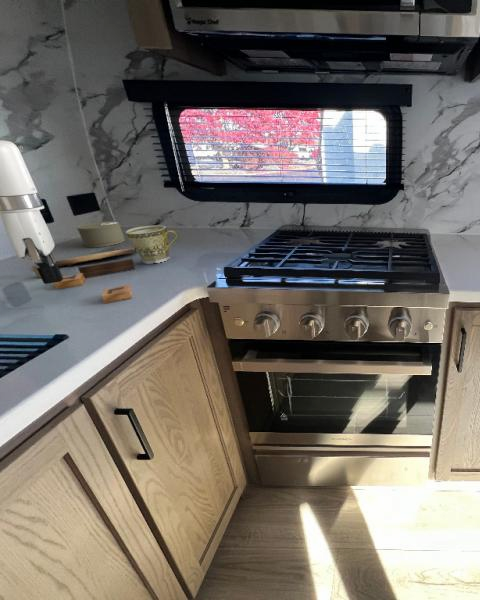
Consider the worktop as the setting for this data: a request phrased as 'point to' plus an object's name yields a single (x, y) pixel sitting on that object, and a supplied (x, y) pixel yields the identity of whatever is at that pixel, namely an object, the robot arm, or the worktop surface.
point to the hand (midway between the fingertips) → (54, 281)
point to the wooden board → (93, 257)
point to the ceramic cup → (151, 243)
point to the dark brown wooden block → (106, 268)
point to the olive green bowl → (101, 234)
